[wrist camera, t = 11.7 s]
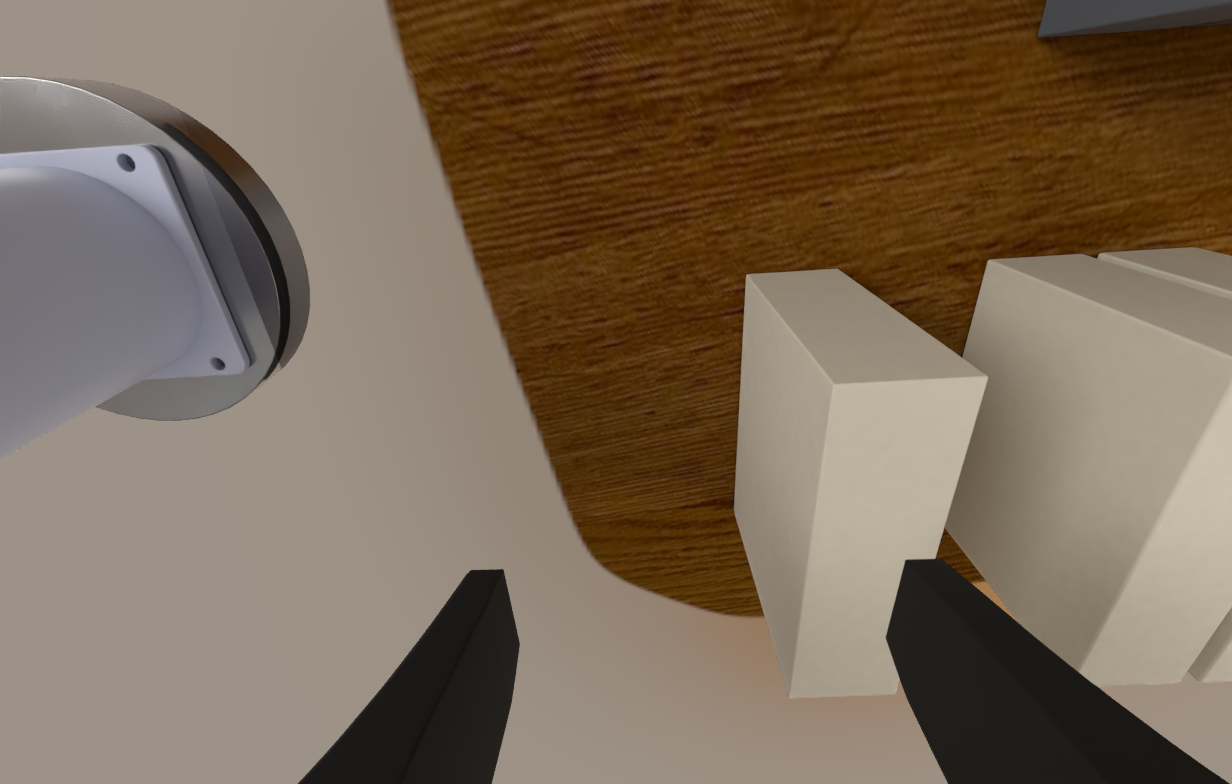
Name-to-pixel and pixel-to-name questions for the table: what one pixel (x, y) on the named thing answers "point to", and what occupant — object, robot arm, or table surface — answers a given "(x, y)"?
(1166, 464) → the white book
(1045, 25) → the grey book
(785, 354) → the white book
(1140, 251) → the white book
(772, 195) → the table surface
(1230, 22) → the grey book
